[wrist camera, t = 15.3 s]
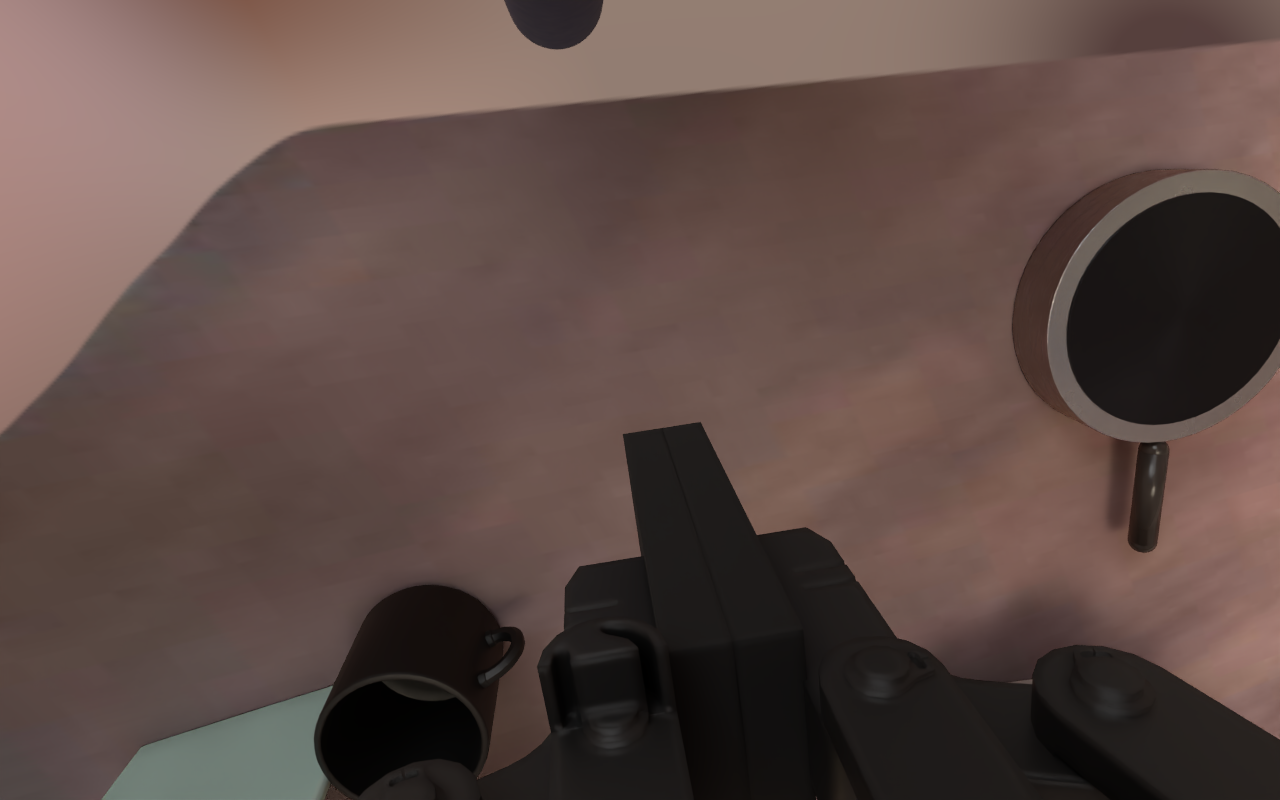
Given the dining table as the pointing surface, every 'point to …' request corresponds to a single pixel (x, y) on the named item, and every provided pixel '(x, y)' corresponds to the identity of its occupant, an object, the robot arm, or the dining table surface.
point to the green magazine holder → (234, 759)
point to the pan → (1154, 313)
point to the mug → (415, 688)
